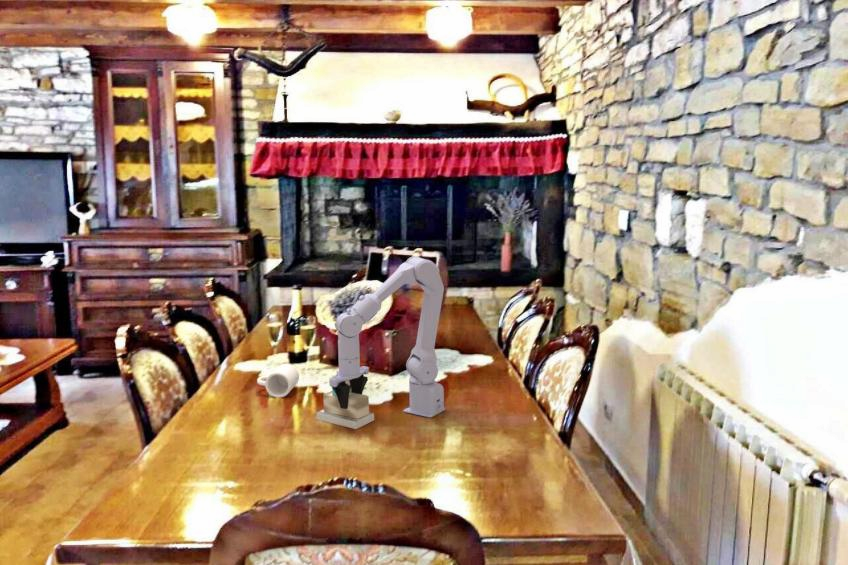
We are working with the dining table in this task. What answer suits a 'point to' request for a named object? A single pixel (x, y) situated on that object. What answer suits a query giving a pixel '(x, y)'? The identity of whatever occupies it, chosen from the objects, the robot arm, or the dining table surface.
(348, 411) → the thick cream slab
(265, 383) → the mug
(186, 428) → the dining table surface
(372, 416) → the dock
